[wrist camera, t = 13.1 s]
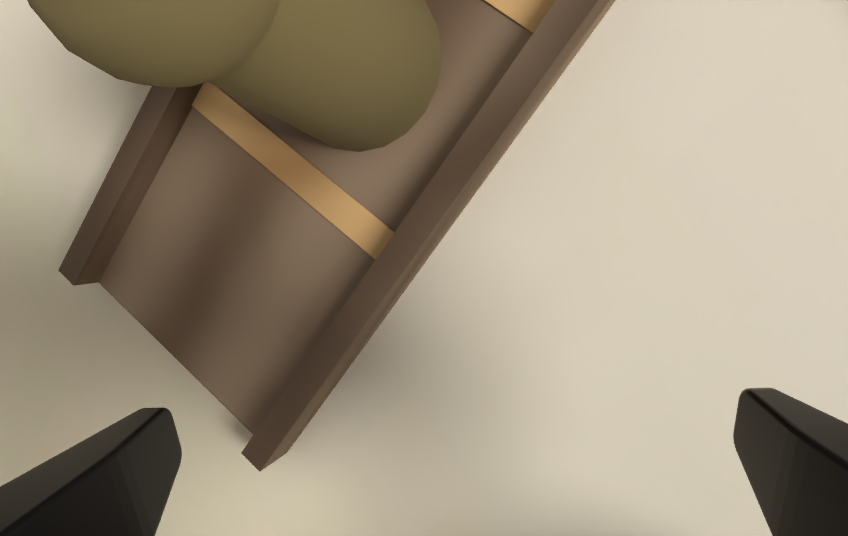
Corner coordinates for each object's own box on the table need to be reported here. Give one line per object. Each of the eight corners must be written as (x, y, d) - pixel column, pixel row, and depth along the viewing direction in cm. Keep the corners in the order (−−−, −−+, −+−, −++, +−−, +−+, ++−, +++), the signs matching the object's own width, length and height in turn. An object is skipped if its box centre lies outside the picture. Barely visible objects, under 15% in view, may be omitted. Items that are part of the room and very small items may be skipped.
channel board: (635, -28, 18) (635, -54, 16) (286, 452, 23) (259, 471, 22) (346, -207, 20) (320, -246, 18) (95, 266, 26) (58, 270, 24)
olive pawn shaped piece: (308, -44, 20) (-22, -308, 10) (465, -8, 19) (263, -283, 8) (266, 125, 22) (-67, 44, 11) (411, 173, 20) (174, 129, 10)
